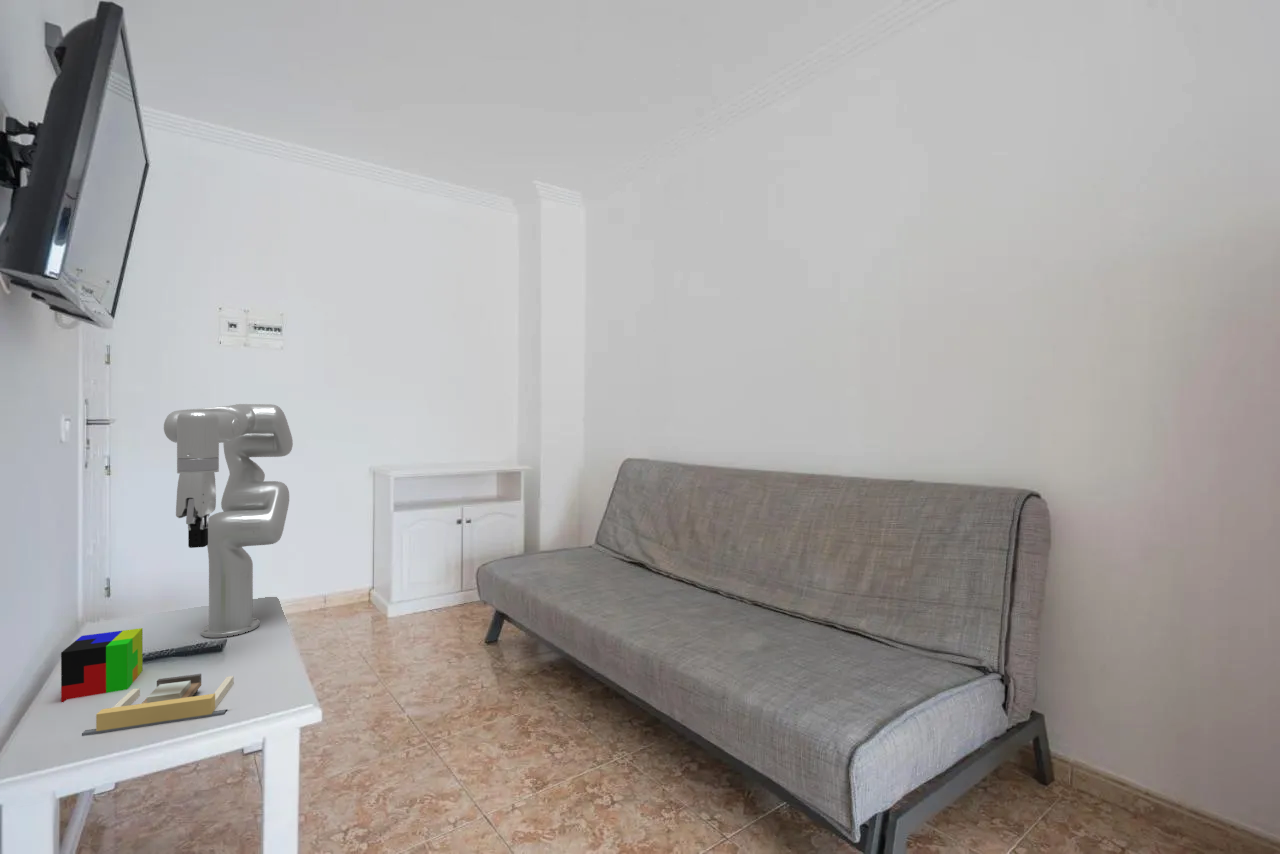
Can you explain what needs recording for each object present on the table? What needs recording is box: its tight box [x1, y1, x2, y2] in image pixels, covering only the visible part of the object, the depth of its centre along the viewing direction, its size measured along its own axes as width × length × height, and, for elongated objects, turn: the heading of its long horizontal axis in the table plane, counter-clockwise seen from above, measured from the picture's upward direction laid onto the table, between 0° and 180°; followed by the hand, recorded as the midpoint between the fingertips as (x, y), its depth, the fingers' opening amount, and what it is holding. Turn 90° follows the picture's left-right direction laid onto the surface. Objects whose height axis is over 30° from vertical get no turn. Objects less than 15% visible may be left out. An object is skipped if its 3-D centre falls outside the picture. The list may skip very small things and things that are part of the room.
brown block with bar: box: [140, 673, 202, 704], centre depth 111 cm, size 9×7×4 cm
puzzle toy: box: [60, 627, 144, 703], centre depth 119 cm, size 10×10×10 cm
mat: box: [81, 675, 235, 737], centre depth 116 cm, size 26×21×3 cm
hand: (198, 546), depth 129 cm, fingers closed
